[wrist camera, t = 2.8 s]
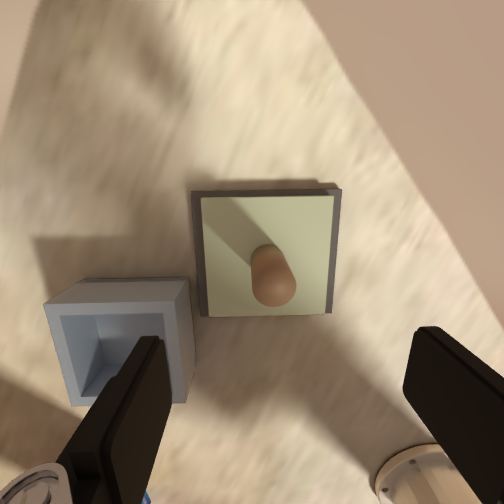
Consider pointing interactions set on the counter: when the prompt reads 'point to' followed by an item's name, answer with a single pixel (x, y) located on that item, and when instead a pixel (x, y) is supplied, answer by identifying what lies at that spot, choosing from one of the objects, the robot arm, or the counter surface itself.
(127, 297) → the dish
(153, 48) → the counter surface
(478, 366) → the robot arm
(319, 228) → the lid
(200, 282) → the mat
